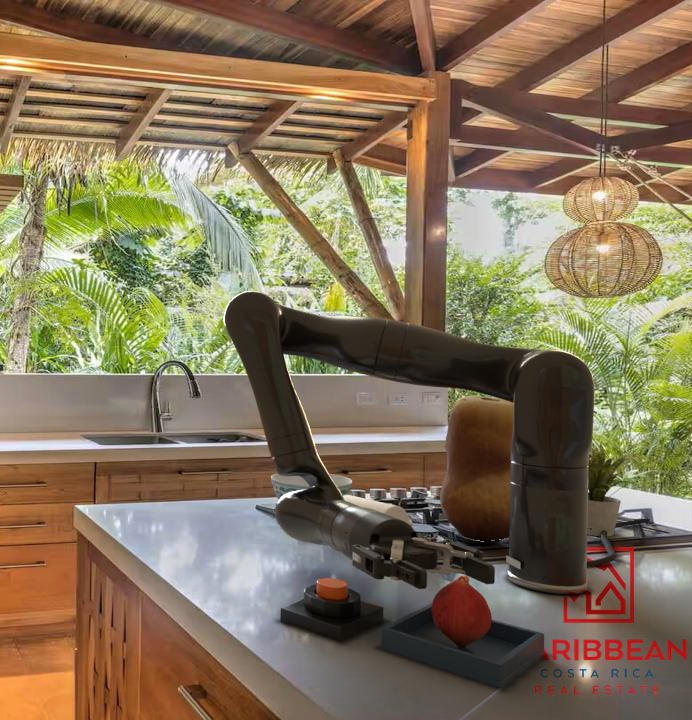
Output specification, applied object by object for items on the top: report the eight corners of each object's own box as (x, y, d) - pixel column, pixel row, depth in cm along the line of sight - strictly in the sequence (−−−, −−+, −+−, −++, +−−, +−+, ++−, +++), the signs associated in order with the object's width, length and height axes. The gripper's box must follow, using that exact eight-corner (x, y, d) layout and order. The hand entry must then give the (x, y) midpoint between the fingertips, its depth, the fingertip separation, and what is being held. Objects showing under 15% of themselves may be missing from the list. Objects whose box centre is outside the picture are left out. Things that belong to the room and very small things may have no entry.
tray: (430, 622, 90) (431, 602, 90) (544, 655, 80) (544, 633, 80) (381, 648, 82) (381, 627, 82) (500, 688, 73) (500, 665, 73)
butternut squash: (539, 555, 117) (542, 400, 117) (447, 549, 121) (449, 398, 121) (512, 534, 131) (515, 394, 130) (430, 528, 135) (432, 392, 134)
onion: (433, 652, 80) (434, 579, 80) (429, 632, 85) (430, 564, 85) (494, 661, 78) (496, 586, 77) (486, 640, 83) (487, 570, 83)
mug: (377, 559, 116) (378, 508, 116) (327, 543, 125) (328, 497, 124) (426, 548, 122) (427, 500, 121) (375, 534, 130) (375, 490, 130)
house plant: (672, 547, 122) (674, 450, 122) (580, 543, 124) (582, 447, 124) (623, 526, 136) (624, 438, 136) (541, 522, 138) (542, 437, 138)
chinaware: (275, 525, 137) (275, 484, 136) (266, 507, 151) (267, 470, 151) (360, 529, 134) (360, 487, 134) (342, 510, 149) (343, 472, 149)
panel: (324, 603, 96) (324, 576, 96) (383, 621, 90) (383, 592, 90) (280, 621, 90) (280, 593, 90) (340, 642, 84) (340, 612, 84)
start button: (326, 589, 93) (326, 575, 93) (353, 597, 90) (353, 583, 90) (310, 595, 90) (311, 581, 90) (337, 604, 88) (338, 589, 88)
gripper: (324, 513, 97) (401, 548, 81) (421, 509, 99) (514, 541, 83) (323, 570, 97) (401, 615, 81) (420, 564, 99) (514, 606, 83)
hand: (458, 577), depth 82 cm, fingers open, 8 cm apart
